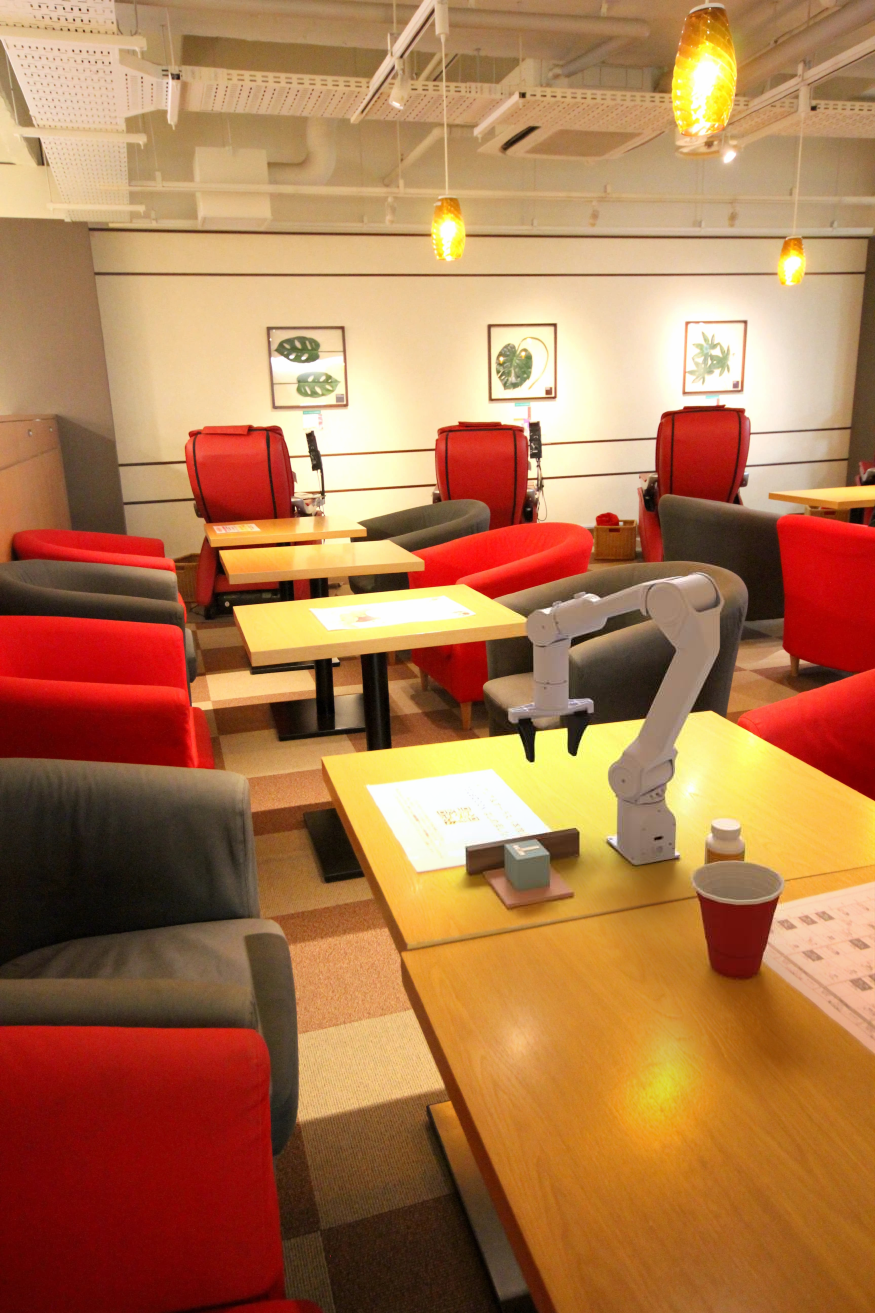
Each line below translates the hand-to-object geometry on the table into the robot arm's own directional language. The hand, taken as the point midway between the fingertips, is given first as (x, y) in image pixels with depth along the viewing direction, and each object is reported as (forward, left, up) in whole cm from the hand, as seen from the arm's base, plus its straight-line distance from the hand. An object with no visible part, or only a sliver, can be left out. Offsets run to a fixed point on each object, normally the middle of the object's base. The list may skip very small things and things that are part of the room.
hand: (551, 757), depth 152 cm
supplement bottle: (-31, -13, -11) cm, 35 cm away
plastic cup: (-48, -3, -11) cm, 49 cm away
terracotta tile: (-21, +13, -10) cm, 27 cm away
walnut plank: (-15, +11, -10) cm, 21 cm away
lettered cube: (-21, +13, -10) cm, 26 cm away
